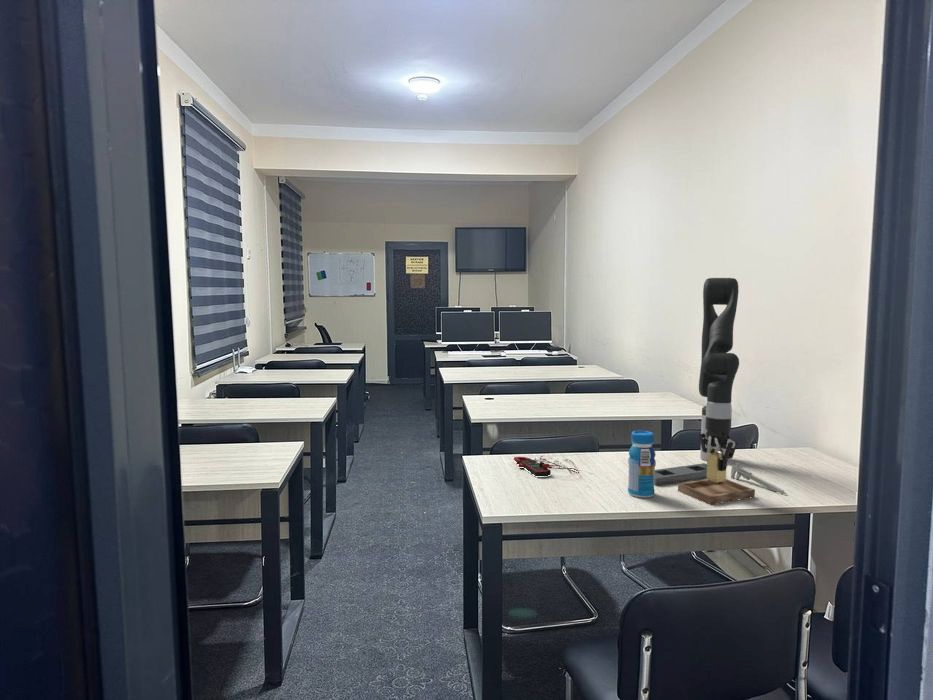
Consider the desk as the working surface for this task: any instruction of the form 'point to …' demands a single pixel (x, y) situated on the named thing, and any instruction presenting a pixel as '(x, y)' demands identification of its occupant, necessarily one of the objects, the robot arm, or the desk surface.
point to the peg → (714, 468)
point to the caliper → (752, 477)
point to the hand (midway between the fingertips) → (716, 468)
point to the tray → (715, 491)
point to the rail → (680, 474)
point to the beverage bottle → (641, 465)
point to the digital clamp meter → (538, 466)
